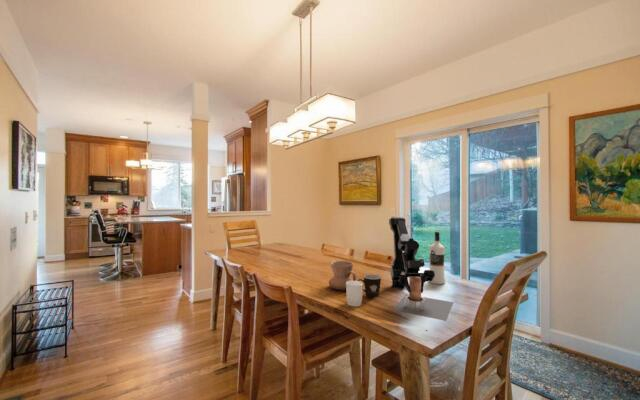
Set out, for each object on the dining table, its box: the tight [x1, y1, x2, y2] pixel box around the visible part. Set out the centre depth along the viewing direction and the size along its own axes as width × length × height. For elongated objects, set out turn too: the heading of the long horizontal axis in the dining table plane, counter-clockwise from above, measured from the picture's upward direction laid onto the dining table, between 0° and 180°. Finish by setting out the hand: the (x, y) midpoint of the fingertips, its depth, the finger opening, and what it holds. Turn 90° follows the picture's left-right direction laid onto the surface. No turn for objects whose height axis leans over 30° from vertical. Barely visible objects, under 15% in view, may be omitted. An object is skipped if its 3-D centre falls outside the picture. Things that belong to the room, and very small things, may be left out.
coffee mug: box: [356, 274, 382, 300], centre depth 149 cm, size 12×9×10 cm
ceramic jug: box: [328, 260, 357, 291], centre depth 161 cm, size 18×14×14 cm
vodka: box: [428, 231, 446, 285], centre depth 173 cm, size 9×9×30 cm
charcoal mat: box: [391, 293, 454, 321], centre depth 133 cm, size 22×24×1 cm
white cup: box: [345, 280, 364, 308], centre depth 138 cm, size 8×8×10 cm
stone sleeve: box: [405, 296, 425, 311], centre depth 131 cm, size 8×8×4 cm
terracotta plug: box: [408, 276, 422, 301], centre depth 131 cm, size 5×5×12 cm
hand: (415, 292), depth 130 cm, fingers closed on terracotta plug, 5 cm apart
